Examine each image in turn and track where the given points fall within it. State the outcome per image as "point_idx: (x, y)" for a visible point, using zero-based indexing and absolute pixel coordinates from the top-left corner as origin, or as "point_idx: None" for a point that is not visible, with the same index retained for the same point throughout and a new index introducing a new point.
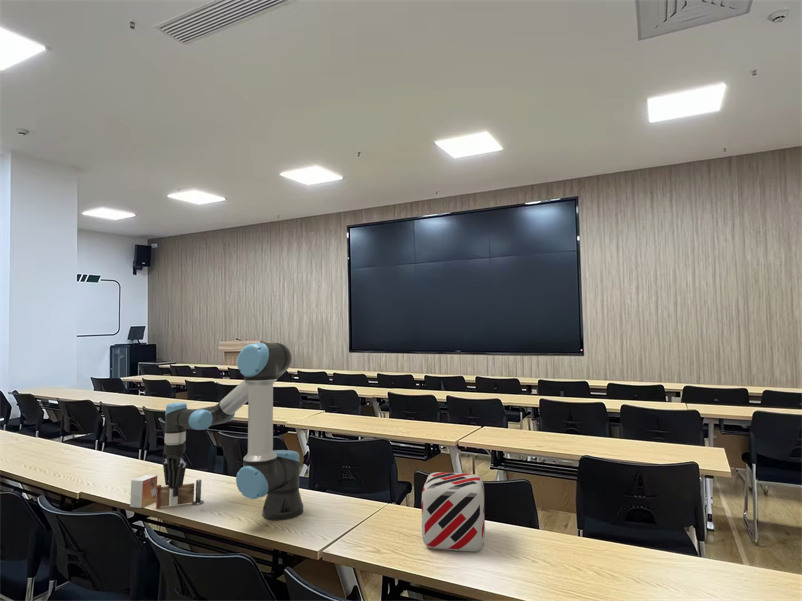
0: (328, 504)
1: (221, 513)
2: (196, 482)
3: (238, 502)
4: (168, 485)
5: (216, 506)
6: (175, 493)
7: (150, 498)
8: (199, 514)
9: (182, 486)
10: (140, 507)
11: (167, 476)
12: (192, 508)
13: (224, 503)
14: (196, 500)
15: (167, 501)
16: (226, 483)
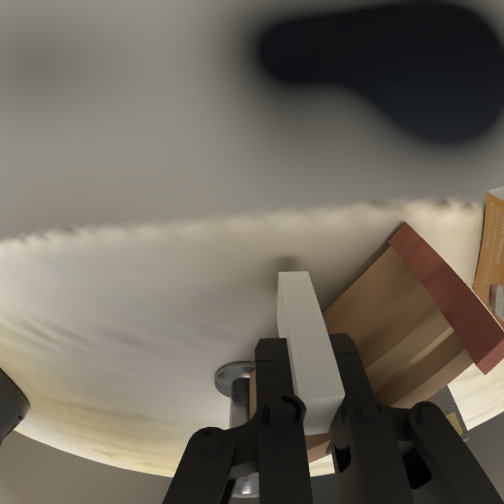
0: None
1: (40, 337)
2: (245, 483)
3: (120, 416)
4: (380, 417)
5: (131, 381)
6: (256, 370)
7: (498, 271)
8: (76, 297)
9: (307, 443)
10: (491, 189)
11: (444, 495)
12: (194, 335)
13: (144, 404)
14: (240, 388)
15: (368, 300)
16: (330, 461)
